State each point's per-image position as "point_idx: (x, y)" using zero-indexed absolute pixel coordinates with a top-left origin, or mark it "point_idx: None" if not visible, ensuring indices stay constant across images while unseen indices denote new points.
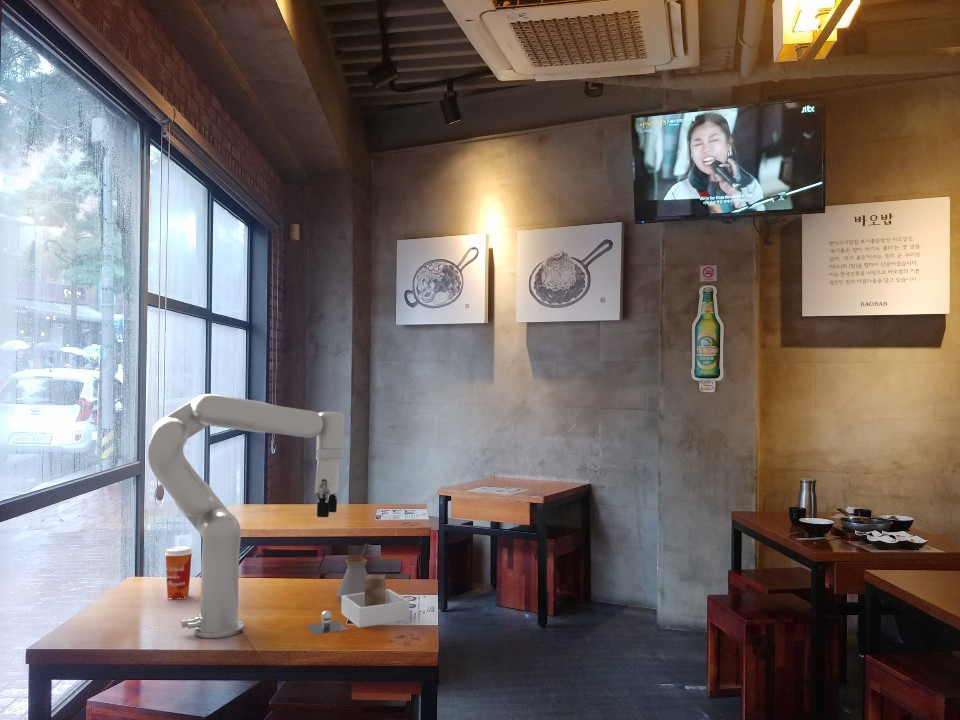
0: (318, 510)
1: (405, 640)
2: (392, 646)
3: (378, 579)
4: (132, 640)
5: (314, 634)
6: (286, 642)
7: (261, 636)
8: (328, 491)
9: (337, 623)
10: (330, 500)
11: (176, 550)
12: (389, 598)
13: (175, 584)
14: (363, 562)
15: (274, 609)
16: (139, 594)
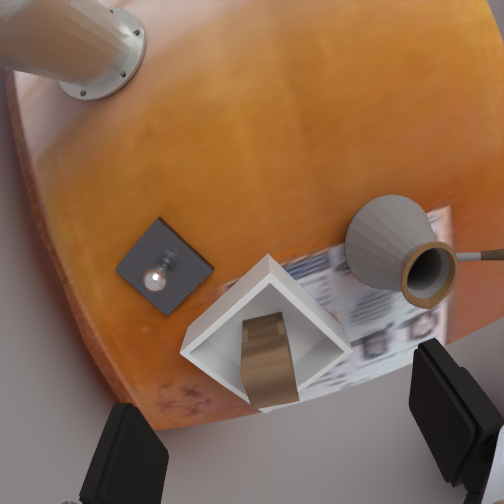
0: (107, 446)
1: (176, 401)
2: (144, 391)
3: (250, 401)
4: None
5: (116, 267)
6: (83, 224)
7: (93, 155)
8: None
9: (193, 281)
10: (454, 449)
11: None
12: (332, 349)
13: None
14: (414, 305)
15: (282, 63)
16: None
